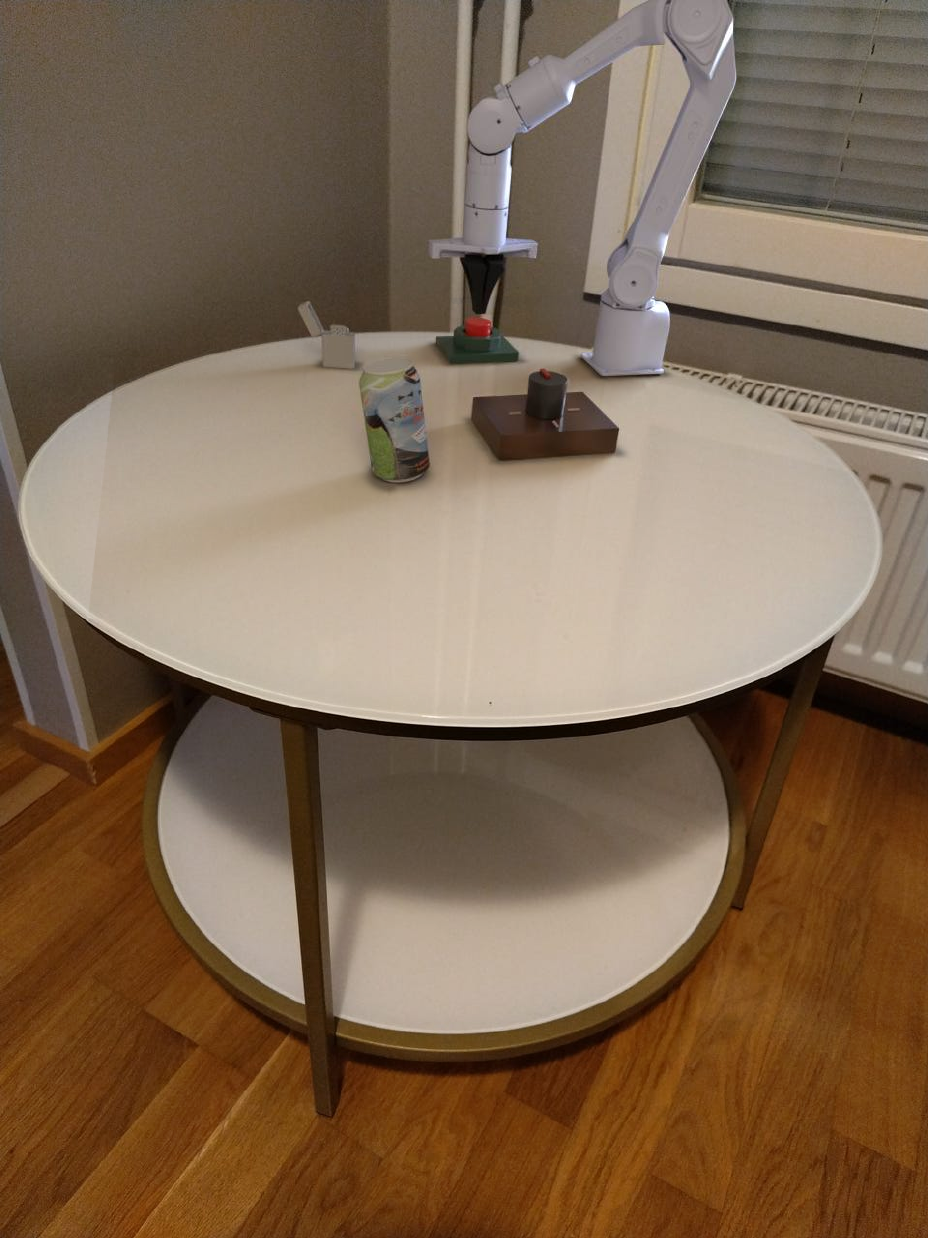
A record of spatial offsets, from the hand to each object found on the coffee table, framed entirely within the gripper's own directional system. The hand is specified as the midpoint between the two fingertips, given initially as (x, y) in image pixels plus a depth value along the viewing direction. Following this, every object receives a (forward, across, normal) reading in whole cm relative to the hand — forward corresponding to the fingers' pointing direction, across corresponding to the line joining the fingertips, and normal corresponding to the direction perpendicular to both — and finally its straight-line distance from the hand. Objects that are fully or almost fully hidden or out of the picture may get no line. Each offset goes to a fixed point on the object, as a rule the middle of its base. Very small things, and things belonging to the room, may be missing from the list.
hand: (478, 311), depth 119 cm
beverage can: (+6, -20, -36) cm, 41 cm away
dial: (+3, -1, -28) cm, 29 cm away
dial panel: (+6, 0, -28) cm, 29 cm away
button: (+3, 0, 0) cm, 3 cm away
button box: (+6, 0, 0) cm, 6 cm away
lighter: (+6, -22, -2) cm, 22 cm away
